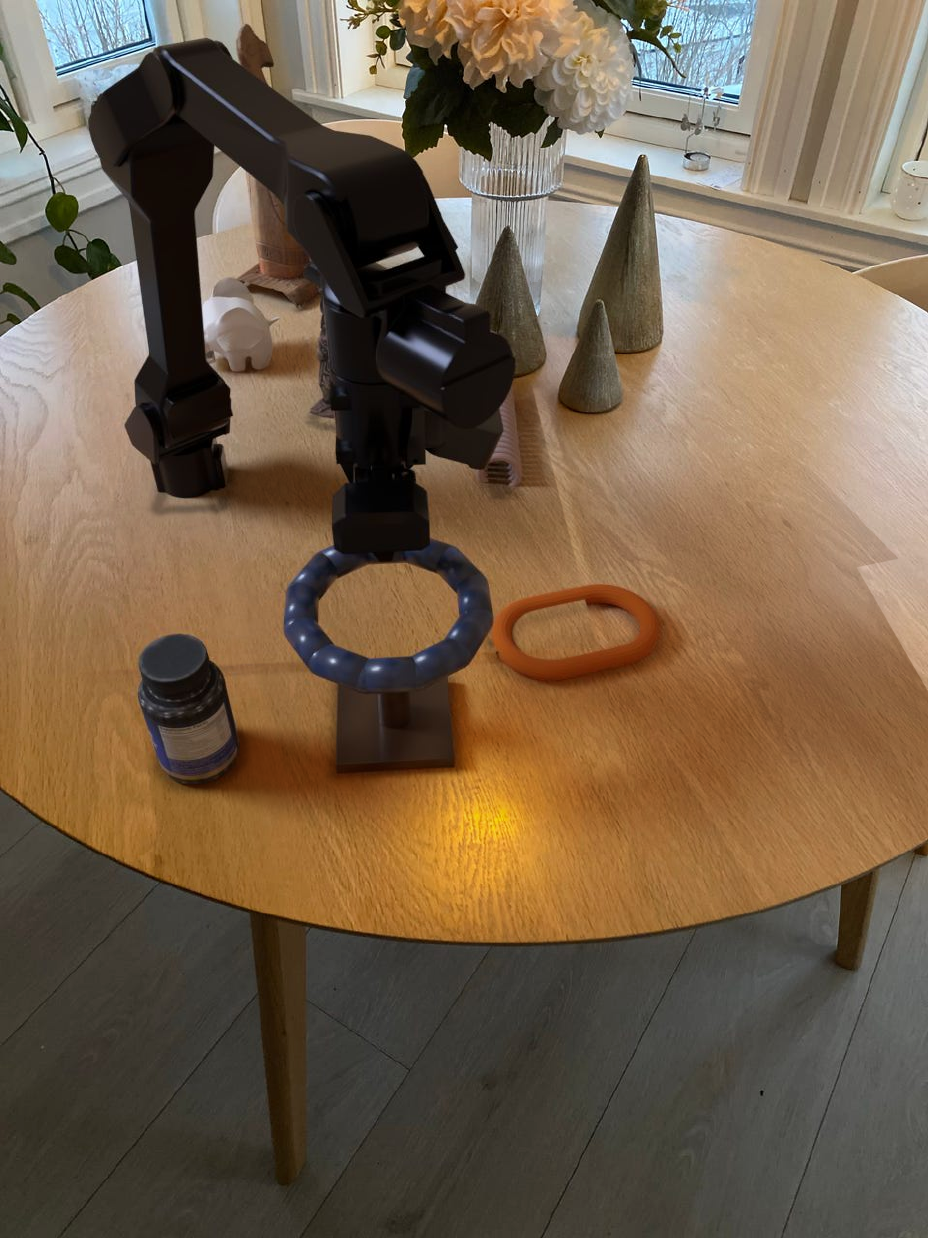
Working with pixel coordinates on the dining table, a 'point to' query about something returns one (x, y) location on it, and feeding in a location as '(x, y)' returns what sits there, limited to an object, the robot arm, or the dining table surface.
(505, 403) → the coil
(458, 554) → the ring
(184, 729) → the pill bottle
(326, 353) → the statue
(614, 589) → the orange oval loop
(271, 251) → the bird sculpture
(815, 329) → the dining table surface
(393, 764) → the stand
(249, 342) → the elephant figurine
